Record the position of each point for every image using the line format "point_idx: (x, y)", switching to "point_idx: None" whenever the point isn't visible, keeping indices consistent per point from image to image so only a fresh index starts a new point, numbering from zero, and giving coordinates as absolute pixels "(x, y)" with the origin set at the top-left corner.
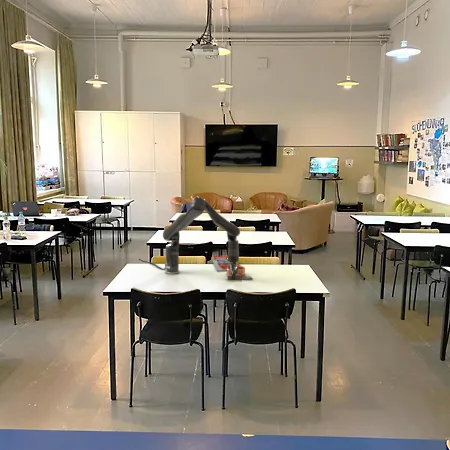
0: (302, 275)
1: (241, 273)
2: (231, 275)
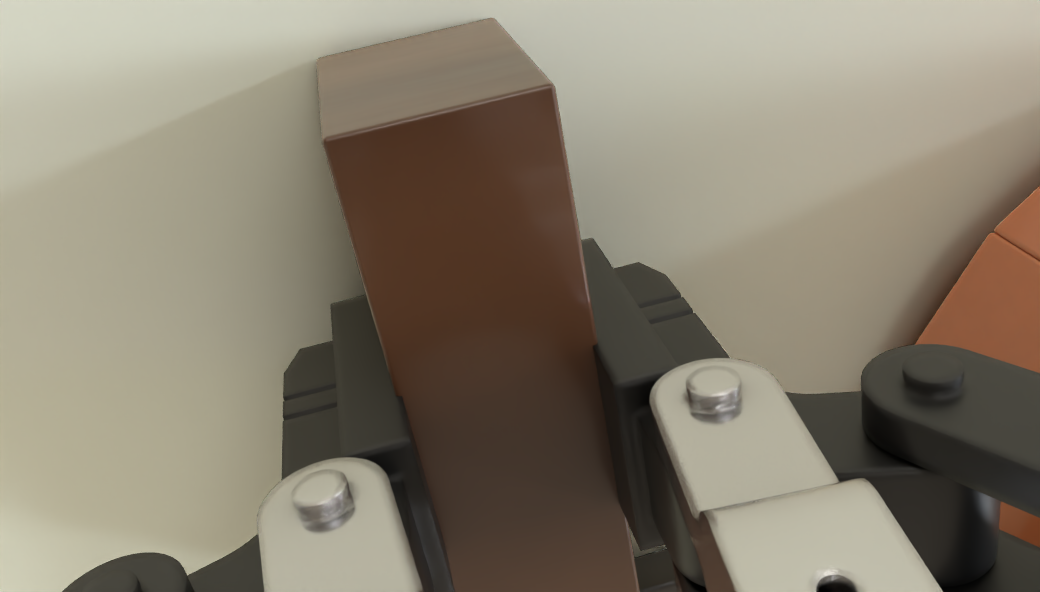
0: None
1: None
2: (390, 362)
